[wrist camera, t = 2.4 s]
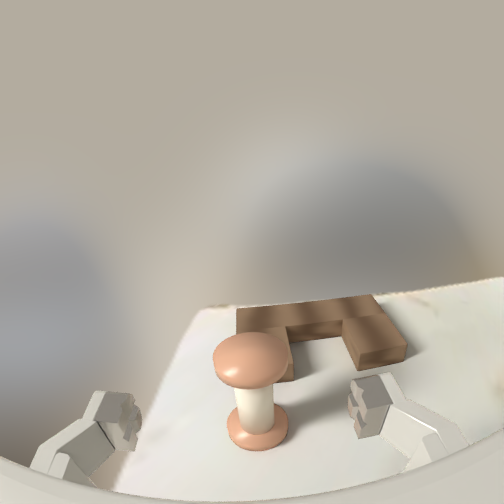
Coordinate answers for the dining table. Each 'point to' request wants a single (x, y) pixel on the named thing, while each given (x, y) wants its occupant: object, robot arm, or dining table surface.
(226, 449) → the dining table surface
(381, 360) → the notched board
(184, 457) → the dining table surface
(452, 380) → the dining table surface
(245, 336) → the bobbin
